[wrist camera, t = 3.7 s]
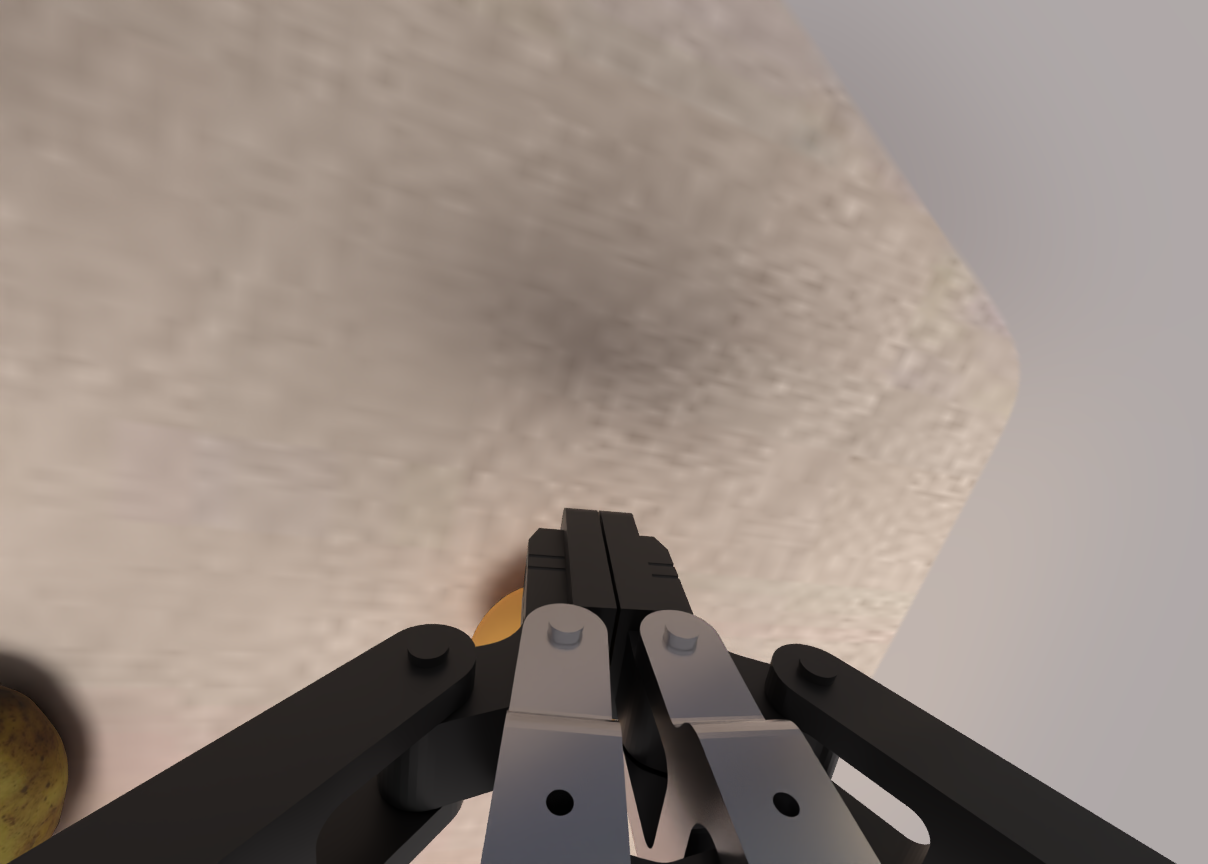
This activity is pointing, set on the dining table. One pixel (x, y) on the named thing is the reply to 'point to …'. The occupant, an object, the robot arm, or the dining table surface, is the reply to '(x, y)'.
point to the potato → (28, 775)
